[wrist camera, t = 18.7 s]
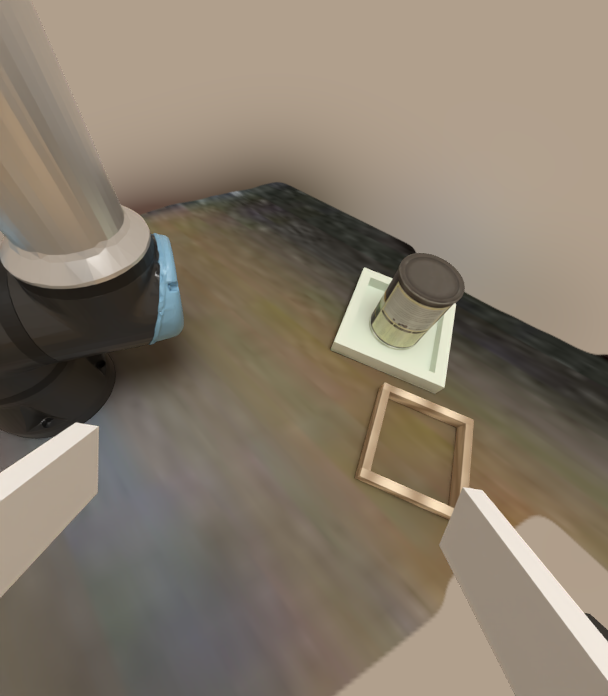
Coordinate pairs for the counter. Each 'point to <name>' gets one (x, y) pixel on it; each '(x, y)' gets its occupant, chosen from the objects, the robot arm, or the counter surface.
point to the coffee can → (415, 300)
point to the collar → (459, 461)
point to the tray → (408, 365)
